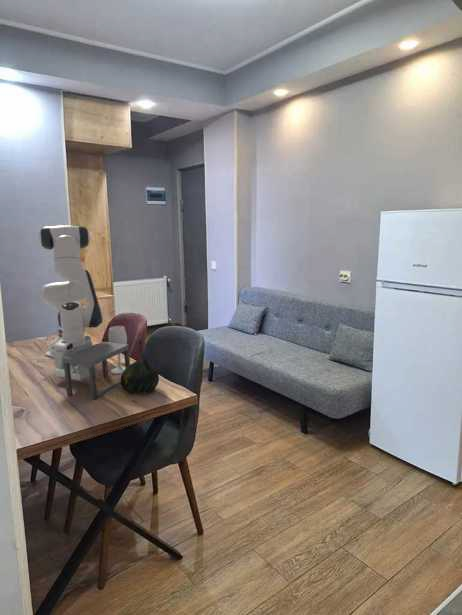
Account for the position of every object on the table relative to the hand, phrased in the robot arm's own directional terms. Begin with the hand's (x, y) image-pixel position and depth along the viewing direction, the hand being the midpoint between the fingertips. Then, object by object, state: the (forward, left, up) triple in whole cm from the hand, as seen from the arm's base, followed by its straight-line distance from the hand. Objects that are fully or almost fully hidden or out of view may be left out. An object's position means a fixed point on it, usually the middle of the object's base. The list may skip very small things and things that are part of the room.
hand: (76, 371), depth 182 cm
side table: (+13, 0, -5) cm, 14 cm away
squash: (+32, +2, -6) cm, 32 cm away
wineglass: (+9, +19, -6) cm, 21 cm away
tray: (-3, 0, -3) cm, 4 cm away
